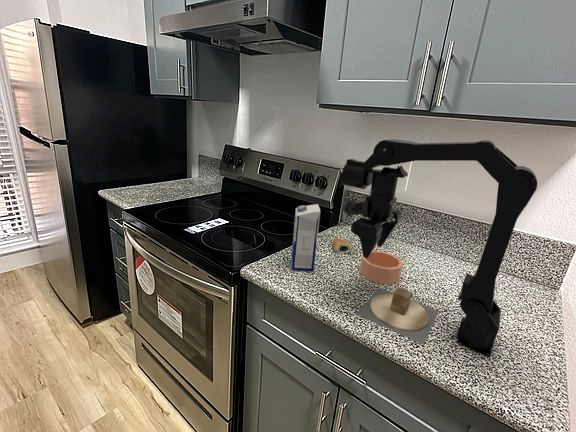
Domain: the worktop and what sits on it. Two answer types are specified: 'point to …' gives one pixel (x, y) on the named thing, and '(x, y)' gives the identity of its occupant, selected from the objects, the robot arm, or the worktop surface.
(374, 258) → the bowl
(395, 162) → the robot arm
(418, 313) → the lid
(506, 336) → the worktop surface
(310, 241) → the milk carton
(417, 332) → the mat
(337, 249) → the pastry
